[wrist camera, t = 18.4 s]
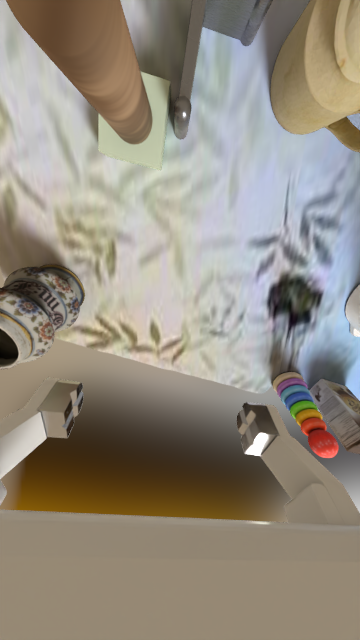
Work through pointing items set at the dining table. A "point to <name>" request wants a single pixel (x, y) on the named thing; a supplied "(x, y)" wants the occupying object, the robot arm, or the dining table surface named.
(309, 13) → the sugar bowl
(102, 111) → the brown wooden cylinder
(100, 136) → the block
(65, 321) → the apothecary jar
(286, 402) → the stacking toy
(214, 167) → the dining table surface
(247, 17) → the corner post block
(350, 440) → the coffee box
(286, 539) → the robot arm
